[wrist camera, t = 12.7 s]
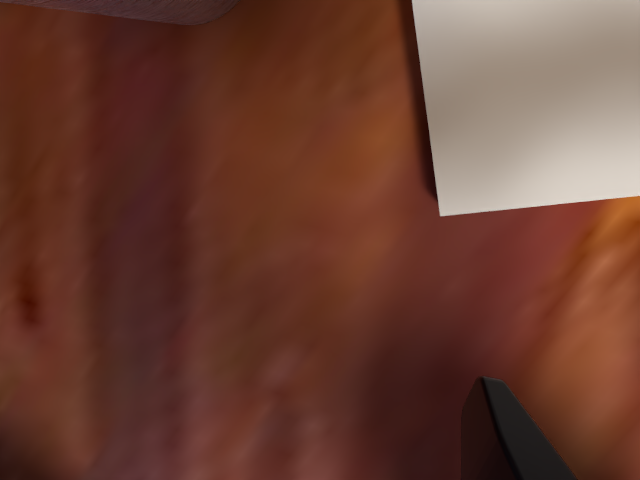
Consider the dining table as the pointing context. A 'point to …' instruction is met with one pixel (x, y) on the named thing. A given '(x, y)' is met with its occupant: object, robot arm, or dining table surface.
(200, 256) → the dining table surface
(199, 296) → the dining table surface
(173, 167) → the dining table surface
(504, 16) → the ring stand
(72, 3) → the grey round cylinder
